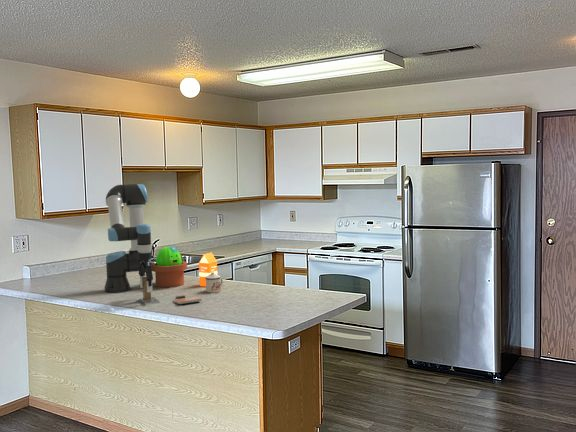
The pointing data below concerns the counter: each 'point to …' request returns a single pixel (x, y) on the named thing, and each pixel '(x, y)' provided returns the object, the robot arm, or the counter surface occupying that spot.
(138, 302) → the rubber tool mat
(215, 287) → the teacup with lid
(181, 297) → the tile spacer
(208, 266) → the orange juice
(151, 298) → the steel trowel
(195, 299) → the ceramic tile
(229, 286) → the counter surface
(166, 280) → the potted cactus
